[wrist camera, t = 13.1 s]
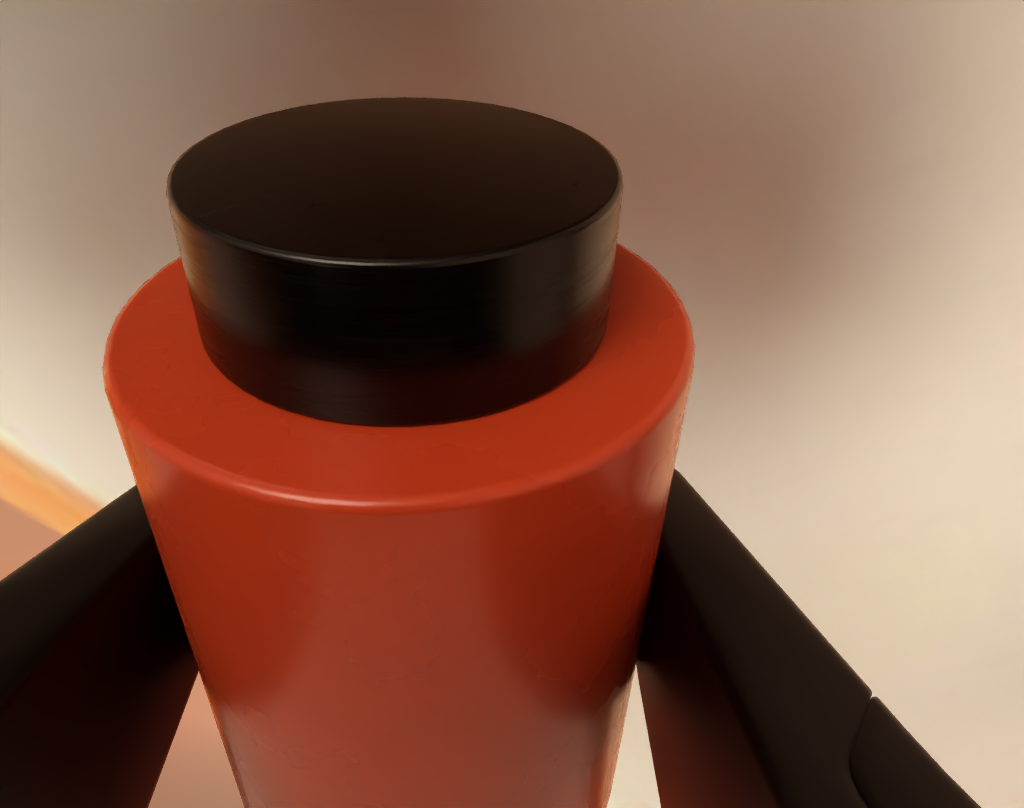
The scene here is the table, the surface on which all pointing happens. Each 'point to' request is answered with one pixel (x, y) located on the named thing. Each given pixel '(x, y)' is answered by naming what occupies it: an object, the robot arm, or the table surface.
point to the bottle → (406, 450)
